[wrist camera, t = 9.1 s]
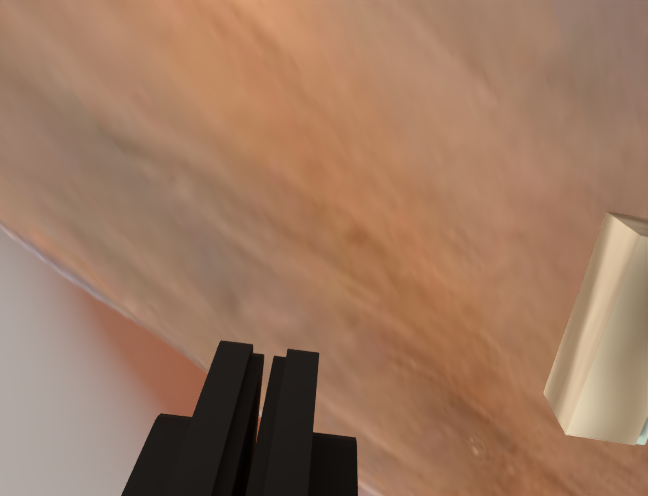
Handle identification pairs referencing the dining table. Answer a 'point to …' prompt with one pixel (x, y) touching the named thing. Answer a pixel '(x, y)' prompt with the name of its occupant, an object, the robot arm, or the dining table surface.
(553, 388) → the t block
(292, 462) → the robot arm
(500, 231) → the dining table surface
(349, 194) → the dining table surface
